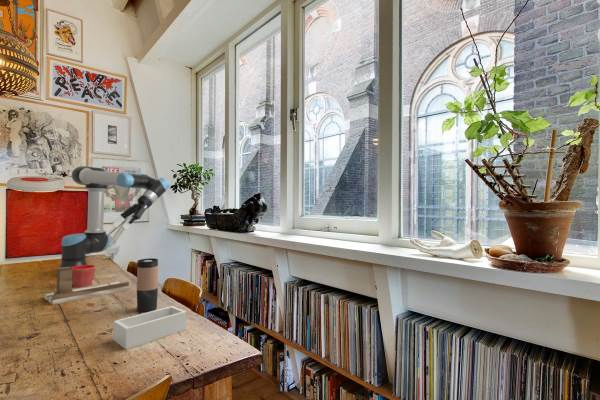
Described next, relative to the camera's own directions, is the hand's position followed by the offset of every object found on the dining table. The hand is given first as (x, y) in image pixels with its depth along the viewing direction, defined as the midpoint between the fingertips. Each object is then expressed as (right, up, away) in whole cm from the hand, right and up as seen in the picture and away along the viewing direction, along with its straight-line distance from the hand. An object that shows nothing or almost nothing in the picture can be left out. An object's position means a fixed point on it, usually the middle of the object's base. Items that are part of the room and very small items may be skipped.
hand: (118, 227), depth 169 cm
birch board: (-1, -29, -22) cm, 37 cm away
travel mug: (+36, -30, -43) cm, 63 cm away
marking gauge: (-6, -27, -31) cm, 42 cm away
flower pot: (-14, -30, -8) cm, 34 cm away
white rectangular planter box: (+49, -30, -66) cm, 88 cm away
